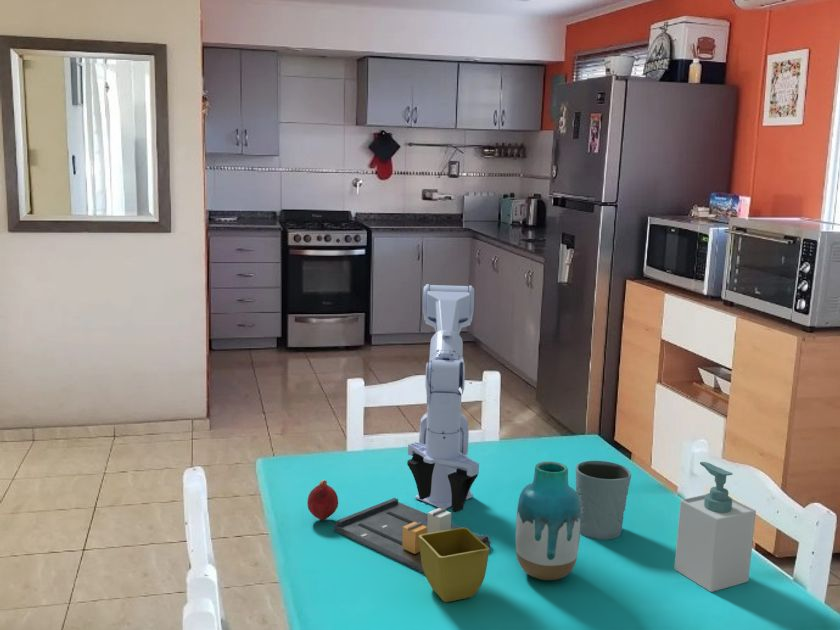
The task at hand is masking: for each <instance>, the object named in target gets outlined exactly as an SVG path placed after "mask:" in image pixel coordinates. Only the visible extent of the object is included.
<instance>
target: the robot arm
mask: <svg viewBox="0 0 840 630" xmlns="http://www.w3.org/2000/svg"><path fill="white" fill-rule="evenodd" d="M422 291H423V292H422V314H423V320H424V323H425V324H426V325H427V326H430V327H433V329H434V332H435V333H434V334H433V335H432V337H431V339H430V346H429V360H428V361H429V362H426V364H425V382H424V383H425V384H424V385H425V386H424V387H425V392H426V404H427V409H426V412H425V414H423V415H422V417H421V418H420V426H419V434H418V437H419V439H418V442H417V441H414V442H411V443H409V444H407V455H409V456H410V457H411V456H412V457H411V459H408V460H407V461H406V462H407V467H409V470H410V471H411V474H412V475H413V479H414V481H415V484H416V485H415V486H416V489H417V493H418V494H416V495H415V496H414V498H415V499H416V500H419V501H422V502H423V503H427V504H429V505H432V506H433V507H436V508H441V509H443V508H445V509H446V510H447V509H448V508H450V507H451V513H452V512H453V513H458V512H461V511H463V510H464V506H465V503H466V500H469V499H470V498H473V497H474V494H473V493H471V487H472V485H473V484H474V482H475V481H476V479H477V478H478V475H479V473H480V471H479V470H480V463H479V462H476V461H475V460H472V458H470V457H468V454H469V436H470V435H469V434H470V433H469V431H470V429H469V420H468V417H466V415H464V414H463V413H462V394H463V393H464V391H465V385H466V384H465V381H466V380H465V379H466V364H465V361H464V357H463V355H464V353H463V349H464V348H463V346H464V343H463V339H462V337H461V335H460V333H461V331H462V329H463V328H466V327H469V326H471V324H472V322H473V316H474V309H475V288H474V287H473V285H442V284H440V285H439V284H438V285H437V284H430V283H427V284H425V285H423V289H422ZM459 389H461V391H460V390H459Z"/></svg>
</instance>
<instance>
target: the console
mask: <svg viewBox="0 0 840 630" xmlns="http://www.w3.org/2000/svg"><path fill="white" fill-rule="evenodd" d="M413 522H417V523H419V522H422V525H424V526H426V527H427V522H428V513H426V512H423V511H421V510H419V509H417V508H414V507H411V506H409V505H407V504H405V503H401V502H399V499H398V498H396V497H392V498H390V499H388V500H386V501H383V502H379V503H378V504H375V505H373V506H370V507H367V508H365V509H363V510H360V511H358V512H355V513H352V514H350V515H348V516H345V517H343V518H339V519H336V523H335V524H334V529H333V530H334V532H336V533H338V534H339V535H342V536H344V537H346V538H348V539H351V540H352V541H355V542H357V543H359V544H360V545H363V546H365V547H367V548H369V549H372V550H373V551H376V552H378V553H380V554H382V555H384V556H386V557H388V558H389V559H390V558H391V559H393V560H394V561H396V562H398V563H401V564H403V565H405V566H407V567H410V568H411V569H413V570H416V571H418V572H419V573H422V574H424V575H425V573H424V570H423V567H422V562H421V553H420V552H418V553H416V554H414V553H412V552H410V551H407V550H405V549H403V548H402V540H403V526H406V525H408V524H410V523H413ZM456 528H461V526H460V527H459V526H457V525H455V524H453V523H451V529H456ZM472 533H473V534H474V535H475V536H476V537H477V538H478V539H480V540H481V541H482V542H483V543H484V544H486V545H487V546H488V547H489V548H490V547H491V539H489V535H486V534H482V535H479V534H478V533H474V532H472Z"/></svg>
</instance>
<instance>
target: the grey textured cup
mask: <svg viewBox="0 0 840 630" xmlns="http://www.w3.org/2000/svg"><path fill="white" fill-rule="evenodd" d="M631 478H632V472H631V470H630V469H629V468H627V467H626V466H624V465H622V464H619V463H615V462H613V461H606V460H586V461H582V462H579V463H578V464H576V465H575V491H576V492H577V494H578V496H579V499H580V507H581V526H580V535H582V536H583V537H586V538H589V539H594V540H600V541H601V540H603V541H604V540H612V539H617V538H618V537H620V536H621V533H622V531H623V529H622V528H623V522H624V512H625V511H626V505H627V499H628V498H627V497H628V493H629V487H630V484H631Z"/></svg>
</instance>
